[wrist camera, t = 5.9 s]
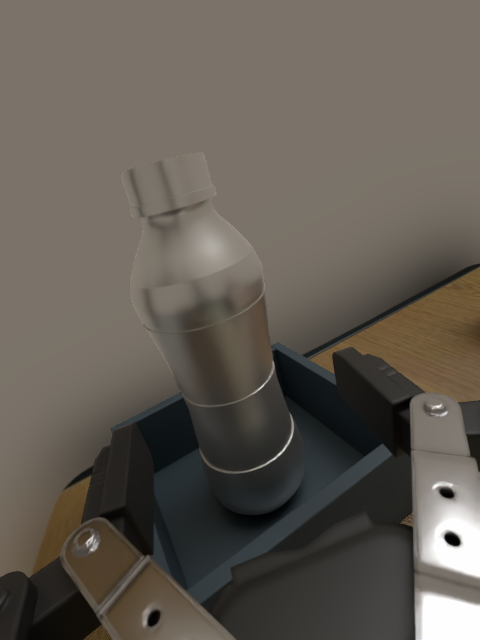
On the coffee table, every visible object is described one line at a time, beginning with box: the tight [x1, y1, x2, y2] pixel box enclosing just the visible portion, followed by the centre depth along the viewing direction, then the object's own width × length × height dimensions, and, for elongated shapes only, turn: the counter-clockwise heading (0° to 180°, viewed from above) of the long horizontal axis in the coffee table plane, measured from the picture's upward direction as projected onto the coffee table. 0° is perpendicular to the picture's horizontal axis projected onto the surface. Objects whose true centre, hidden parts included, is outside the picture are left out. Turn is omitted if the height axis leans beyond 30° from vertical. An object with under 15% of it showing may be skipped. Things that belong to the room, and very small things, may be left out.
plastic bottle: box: [120, 152, 305, 515], centre depth 18 cm, size 6×7×20 cm
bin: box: [111, 342, 412, 611], centre depth 21 cm, size 15×14×6 cm
